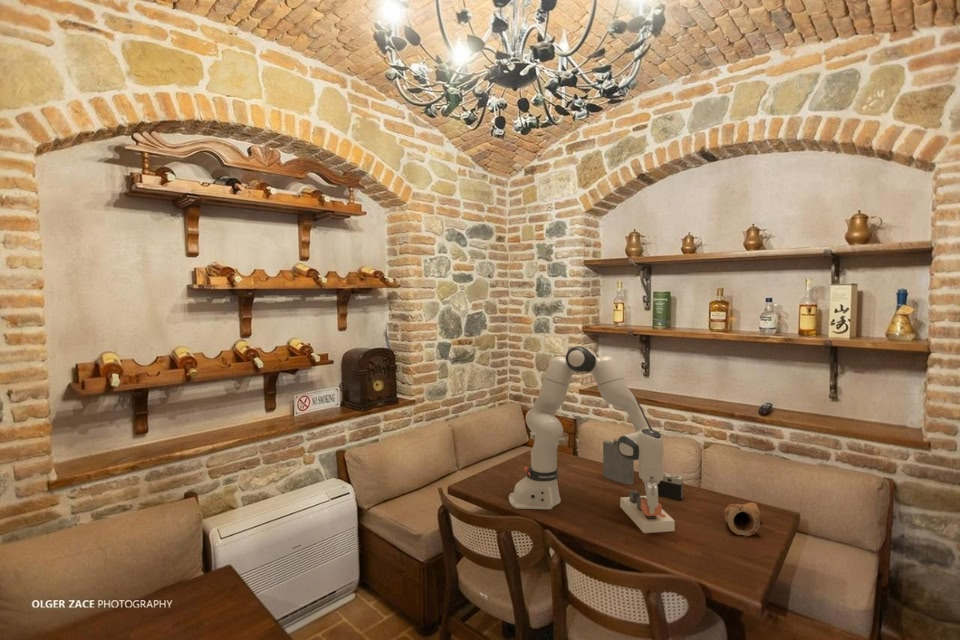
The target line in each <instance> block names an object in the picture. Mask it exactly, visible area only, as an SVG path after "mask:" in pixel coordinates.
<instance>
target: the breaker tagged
mask: <svg viewBox="0 0 960 640" xmlns="http://www.w3.org/2000/svg"><path fill="white" fill-rule="evenodd" d="M645 517H646V518H647V519H648V520H650V519H656V516H646V515H645Z"/></svg>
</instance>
